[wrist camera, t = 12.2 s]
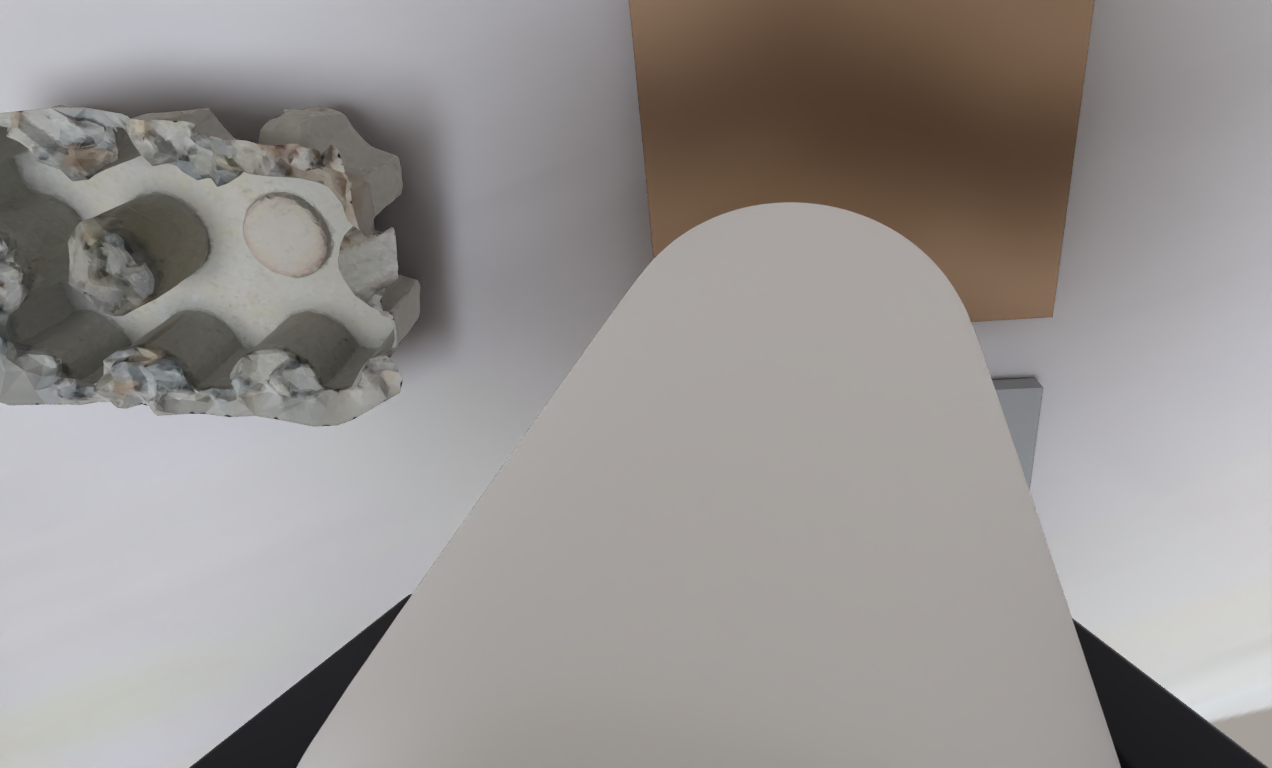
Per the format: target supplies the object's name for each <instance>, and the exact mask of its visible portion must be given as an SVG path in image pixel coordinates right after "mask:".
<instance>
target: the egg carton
mask: <svg viewBox="0 0 1272 768" xmlns="http://www.w3.org/2000/svg"><path fill="white" fill-rule="evenodd" d="M402 188H403V182H402V169H401V165H400V161H399V157H398V156H396V155H395V154H390V153H388V152H385V151H382V150H380V149H377V148H375V147H372V146H371V145H370V144H368V143H367V142H366V141H365V140H364V139H363V138H362V137H361V136H360V135H359V134H358V133H357V131H356V130H355V129H354V128H353V127H352V125H351V124H350V122H349V120H348V118H347V117H346V115H344V114H343V113H341V112H340V111H337V110H334V109H331V108H325V107H311V108H307V109H304V110H299V109H284V113H283V114H282V115H281V116H280V117H278V118H274V119H271V120H270V121H268V122H267V123H266V124H265V125H264V126H263V127H262V128H261V129H260V133H259V137H258V142H257V144H256V143H254V142H250V141H244V140H237V139H236V138H234V137H233V136H232V135H231V134H230V133H229V132H228V131H227V130H226V129H225V127H224V126H223V125H222V124H221V123H220V122H219V120H218V119H217V118H216V117H215V115H214V114H213V113H212V112H211V110H210V109H209V108H202V109H193V110H185V111H174V112H161V113H146V114H142V115H140V116H136V117H133V118H129V117H128V116H127V115H125V114H120V113H114V112H108V111H103V110H97V109H91V108H86V107H76V108H72V107H67V106H62V105H59V106H55V107H52V108H45V109H35V110H25V111H16V112H6V113H0V402H1V403H4V404H7V405H38V404H70V405H83V404H89V403H94V402H111V403H112V404H114V405H115V406H116V407H117V408H130V407H133V406H137V405H140V404H144V405H147V406H149V407H150V408H151V410H152V411H153V412H154V413H155V414H156V415H157V416H160V415H177V414H190V413H191V414H211V415H219V416H227V417H239V416H260V417H267V418H273V419H278V420H284V421H289V422H294V423H299V424H304V425H309V426H333V425H339V424H342V423H345V422H347V421H350V420H352V419H355V418H356V417H358V416H360V415H362V414H363V413H365V412H367V411H369V410H370V409H372V408H374V407H375V406H377V405H379V404H381V403H382V402H384V401H386V400H388V399H389V398H391V397H393V396H395V395H396V394H398V393H400V390H401V385H402V376H401V373H400V371H399V370H398V368H397V366H396V364H395V363H394V362H393V361H391V360H390V356H391V355H392V353H393V352H394V351H395V349H396V346H398V345H399V343H400V341H401V340H402V339H403V338H404V337H405V336H406V335H407V334H408V333H409V331H410V329H411V328H412V326H413V325H414V324H415V323H416V321H417V320H418V319H419V316H420V289H421V286H420V284H419V282H418V280H416V279H412V278H409V277H405V276H402V275H399V274H398V262H397V246H396V236H395V230H394V228H393V227H390V228H388V229H387V230H385V231H377V230H375V229H374V218H375V216H376V215H378V214H379V213H380V212H381V211H382V210H383V209H384V208H385V207H386V206H388V205H389V204H390V203H392V202H393V201H394V200H395V199H396V198H397V197H399V196H400V195H401V192H402Z"/></svg>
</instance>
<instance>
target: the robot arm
mask: <svg viewBox="0 0 1272 768" xmlns="http://www.w3.org/2000/svg"><path fill="white" fill-rule="evenodd" d="M411 595H412V594H410V595H408V596H407V597H405V598H404V599H403V600H401V601H400V602H399V603H398V604H396V605H395V606H394V607H392V608H391V609H390V610H389V611H387V612H386V613H385V614H384V615H382V616H381V617H380V618H379V619H377V620H376V621H375V622H373V623H372V624H371V625H370V626H368V627H367V628H366V629H365V630H363V631H362V632H361V633H360V634H358V635H357V636H356V637H354V638H353V639H352V640H351V641H349V642H348V643H347V644H346V645H344V646H343V647H342V648H340V649H339V650H338V651H337V652H335V653H334V654H333V655H332V656H330V657H329V658H328V659H327V660H325V661H324V662H323V663H321V664H320V665H319V666H318V667H316V668H315V669H314V670H313V671H311V672H310V673H309V674H308V675H306V676H305V677H304V678H302V679H301V680H300V681H299V682H297V683H296V684H295V685H294V686H292V687H291V688H290V689H289V690H287V691H286V692H285V693H283V694H282V695H281V696H280V697H278V698H277V699H276V700H275V701H273V702H272V703H271V704H270V705H268V706H267V707H266V708H264V709H263V710H262V711H261V712H259V713H258V714H257V715H256V716H254V717H253V718H252V719H251V720H249V721H248V722H247V723H245V724H244V725H243V726H242V727H240V728H239V729H238V730H237V731H235V732H234V733H233V734H231V735H230V736H229V737H228V738H226V739H225V740H224V741H223V742H221V743H220V744H219V745H218V746H216V747H215V748H214V749H212V750H211V751H210V752H209V753H207V754H206V755H205V756H204V757H202V758H201V759H200V760H199V761H197V762H196V763H195V764H193V765H192V766H191V767H190V768H296V767H297V766H298V764H299V762H300V760H301V758H302V757H303V755H304V753H305V752H306V750H307V748H308V747H309V745H310V744H311V742H312V741H313V739H314V738H315V736H316V735H317V733H318V732H319V730H320V728H321V727H322V725H323V724H324V722H325V721H326V719H327V718H328V716H329V715H330V713H331V712H332V710H333V709H334V707H335V706H336V704H337V703H338V701H339V700H340V698H341V697H342V695H343V694H344V692H345V691H346V689H347V688H348V686H349V685H350V683H351V682H352V680H353V679H354V677H355V676H356V675H357V673H358V672H359V670H360V669H361V667H362V666H363V664H364V663H365V662H366V660H367V659H368V657H369V656H370V654H371V653H372V652H373V650H374V649H375V647H376V646H377V644H378V643H379V641H380V640H381V639H382V637H383V636H384V634H385V633H386V631H387V630H388V628H389V627H390V626H391V624H392V623H393V621H394V620H395V618H396V617H397V616H398V614H399V613H400V611H401V610H402V608H403V607H404V605H405V604H406V603H407V601H408V600H409V598H410V597H411ZM1072 620H1073V623H1074V626H1075V629H1076V632H1077V635H1078V638H1079V641H1080V644H1081V647H1082V650H1083V653H1084V656H1085V659H1086V662H1087V666H1088V669H1089V672H1090V675H1091V678H1092V681H1093V684H1094V687H1095V690H1096V693H1097V696H1098V699H1099V702H1100V705H1101V708H1102V711H1103V714H1104V717H1105V720H1106V723H1107V726H1108V729H1109V732H1110V735H1111V738H1112V741H1113V744H1114V748H1115V751H1116V754H1117V757H1118V760H1119V763H1120V766H1121V768H1268V767H1267V766H1266V765H1264V764H1263V763H1262V762H1261V761H1259V760H1258V759H1257V758H1255V757H1254V756H1253V755H1251V754H1250V753H1249V752H1247V751H1246V750H1245V749H1243V748H1242V747H1241V746H1240V745H1238V744H1237V743H1235V742H1234V741H1233V740H1232V739H1230V738H1229V737H1228V736H1226V735H1225V734H1224V733H1222V732H1221V731H1220V730H1218V729H1217V728H1216V727H1215V726H1213V725H1212V724H1211V723H1209V722H1208V721H1207V720H1205V719H1204V718H1203V717H1201V716H1200V715H1199V714H1197V713H1196V712H1195V711H1194V710H1192V709H1191V708H1190V707H1188V706H1187V705H1186V704H1184V703H1183V702H1182V701H1180V700H1179V699H1178V698H1176V697H1175V696H1174V695H1173V694H1171V693H1170V692H1169V691H1167V690H1166V689H1165V688H1163V687H1162V686H1161V685H1159V684H1158V683H1157V682H1155V681H1154V680H1153V679H1152V678H1150V677H1149V676H1148V675H1146V674H1145V673H1144V672H1142V671H1141V670H1140V669H1138V668H1137V667H1136V666H1134V665H1133V664H1132V663H1130V662H1129V661H1128V660H1127V659H1125V658H1124V657H1123V656H1121V655H1120V654H1119V653H1117V652H1116V651H1115V650H1113V649H1112V648H1111V647H1109V646H1108V645H1107V644H1106V643H1104V642H1103V641H1102V640H1100V639H1099V638H1098V637H1096V636H1095V635H1094V634H1092V633H1091V632H1090V631H1088V630H1087V629H1086V628H1085V627H1083V626H1082V625H1081V624H1079V623H1078V622H1077V621H1075V620H1074V619H1073V618H1072Z"/></svg>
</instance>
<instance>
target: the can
mask: <svg viewBox="0 0 1272 768" xmlns="http://www.w3.org/2000/svg"><path fill="white" fill-rule="evenodd" d="M296 768H1121V766H1120V763H1119V760H1118V757H1117V754H1116V751H1115V748H1114V744H1113V741H1112V738H1111V735H1110V732H1109V729H1108V726H1107V723H1106V720H1105V717H1104V714H1103V711H1102V708H1101V705H1100V702H1099V699H1098V696H1097V693H1096V690H1095V687H1094V684H1093V681H1092V678H1091V675H1090V672H1089V669H1088V666H1087V662H1086V659H1085V656H1084V653H1083V650H1082V647H1081V644H1080V641H1079V638H1078V635H1077V632H1076V629H1075V626H1074V623H1073V620H1072V617H1071V614H1070V611H1069V608H1068V605H1067V602H1066V599H1065V596H1064V593H1063V590H1062V587H1061V584H1060V581H1059V578H1058V575H1057V572H1056V569H1055V566H1054V563H1053V560H1052V557H1051V554H1050V551H1049V548H1048V545H1047V542H1046V539H1045V536H1044V533H1043V530H1042V527H1041V524H1040V521H1039V518H1038V515H1037V512H1036V509H1035V506H1034V503H1033V500H1032V497H1031V494H1030V491H1029V488H1028V485H1027V482H1026V479H1025V476H1024V473H1023V470H1022V467H1021V464H1020V461H1019V458H1018V455H1017V452H1016V449H1015V446H1014V443H1013V440H1012V437H1011V434H1010V431H1009V428H1008V425H1007V423H1006V420H1005V417H1004V414H1003V411H1002V408H1001V405H1000V402H999V399H998V396H997V393H996V390H995V387H994V384H993V381H992V379H991V376H990V373H989V370H988V367H987V364H986V361H985V358H984V355H983V353H982V350H981V347H980V344H979V341H978V339H977V336H976V333H975V331H974V328H973V325H972V323H971V321H970V318H969V316H968V313H967V311H966V309H965V307H964V305H963V303H962V301H961V299H960V297H959V296H958V294H957V292H956V291H955V289H954V287H953V286H952V284H951V283H950V281H949V280H948V278H947V277H946V276H945V275H944V273H943V272H942V271H941V270H940V268H939V267H938V266H937V265H936V264H935V263H934V262H933V261H932V260H931V259H930V258H929V257H928V256H927V255H926V254H925V253H924V252H923V251H922V250H921V249H919V248H918V247H917V246H916V245H915V244H913V243H912V242H911V241H909V240H908V239H907V238H905V237H904V236H902V235H901V234H899V233H897V232H896V231H894V230H893V229H891V228H889V227H887V226H885V225H883V224H881V223H879V222H877V221H875V220H873V219H870V218H868V217H866V216H863V215H860V214H857V213H855V212H851V211H848V210H845V209H841V208H837V207H832V206H827V205H820V204H812V203H799V202H783V203H769V204H761V205H755V206H750V207H745V208H741V209H737V210H734V211H730V212H727V213H724V214H722V215H719V216H717V217H714V218H712V219H710V220H707V221H705V222H703V223H701V224H699V225H697V226H696V227H694V228H692V229H691V230H689V231H687V232H686V233H684V234H683V235H681V236H680V237H678V238H677V239H676V240H674V241H673V242H672V243H671V244H669V245H668V246H667V247H666V248H665V249H664V250H663V251H662V252H660V253H659V254H658V255H657V256H656V257H655V258H654V259H653V260H652V261H651V263H650V264H649V265H648V266H647V267H646V268H645V270H644V271H643V272H642V273H641V275H640V276H639V277H638V278H637V280H636V281H635V282H634V283H633V285H632V286H631V287H630V289H629V290H628V292H627V293H626V294H625V296H624V297H623V298H622V300H621V301H620V302H619V304H618V305H617V306H616V308H615V309H614V311H613V312H612V313H611V315H610V316H609V318H608V319H607V320H606V322H605V323H604V325H603V326H602V327H601V329H600V330H599V331H598V333H597V334H596V336H595V337H594V338H593V340H592V341H591V343H590V344H589V345H588V347H587V348H586V350H585V351H584V352H583V354H582V355H581V357H580V358H579V359H578V361H577V362H576V364H575V365H574V366H573V368H572V369H571V371H570V372H569V373H568V375H567V376H566V378H565V379H564V380H563V382H562V383H561V385H560V386H559V387H558V389H557V390H556V392H555V393H554V394H553V396H552V397H551V399H550V400H549V401H548V403H547V404H546V406H545V407H544V408H543V410H542V411H541V413H540V414H539V415H538V417H537V418H536V420H535V421H534V423H533V424H532V425H531V427H530V428H529V430H528V431H527V432H526V434H525V435H524V437H523V438H522V439H521V441H520V442H519V444H518V445H517V447H516V448H515V449H514V451H513V452H512V454H511V455H510V456H509V458H508V459H507V461H506V462H505V463H504V465H503V466H502V468H501V469H500V470H499V472H498V473H497V475H496V476H495V478H494V479H493V480H492V482H491V483H490V485H489V486H488V487H487V489H486V490H485V492H484V493H483V494H482V496H481V497H480V499H479V500H478V502H477V503H476V504H475V506H474V507H473V509H472V510H471V512H470V513H469V514H468V516H467V517H466V519H465V520H464V521H463V523H462V524H461V526H460V527H459V529H458V530H457V531H456V533H455V534H454V536H453V537H452V539H451V540H450V541H449V543H448V544H447V546H446V547H445V548H444V550H443V551H442V553H441V554H440V556H439V557H438V558H437V560H436V561H435V563H434V564H433V566H432V567H431V568H430V570H429V571H428V573H427V574H426V575H425V577H424V578H423V580H422V581H421V583H420V584H419V585H418V587H417V588H416V590H415V591H414V593H413V594H412V595H411V597H410V598H409V600H408V601H407V603H406V604H405V605H404V607H403V608H402V610H401V611H400V613H399V614H398V616H397V617H396V618H395V620H394V621H393V623H392V624H391V626H390V627H389V628H388V630H387V631H386V633H385V634H384V636H383V637H382V639H381V640H380V641H379V643H378V644H377V646H376V647H375V649H374V650H373V652H372V653H371V654H370V656H369V657H368V659H367V660H366V662H365V663H364V664H363V666H362V667H361V669H360V670H359V672H358V673H357V675H356V676H355V677H354V679H353V680H352V682H351V683H350V685H349V686H348V688H347V689H346V691H345V692H344V694H343V695H342V697H341V698H340V700H339V701H338V703H337V704H336V706H335V707H334V709H333V710H332V712H331V713H330V715H329V716H328V718H327V719H326V721H325V722H324V724H323V725H322V727H321V728H320V730H319V732H318V733H317V735H316V736H315V738H314V739H313V741H312V742H311V744H310V745H309V747H308V748H307V750H306V752H305V753H304V755H303V757H302V758H301V760H300V762H299V764H298V766H297V767H296Z"/></svg>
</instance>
